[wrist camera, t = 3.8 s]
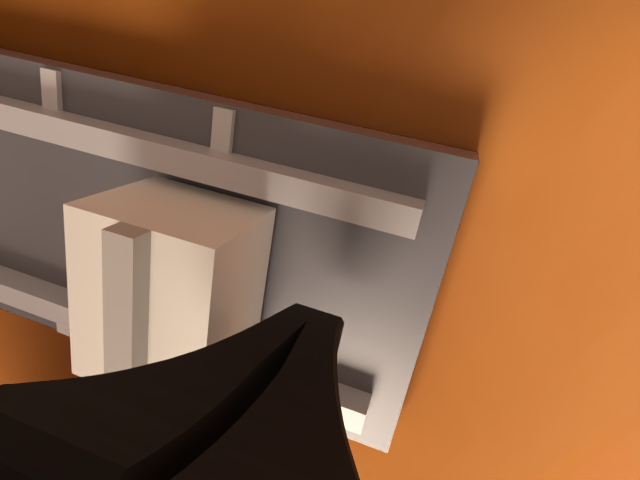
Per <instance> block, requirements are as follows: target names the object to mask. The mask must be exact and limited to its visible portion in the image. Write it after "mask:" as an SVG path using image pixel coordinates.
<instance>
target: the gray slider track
mask: <svg viewBox="0 0 640 480" xmlns="http://www.w3.org/2000/svg"><path fill="white" fill-rule="evenodd" d="M478 164H479V157H478V153H477V152H473V151H469V150H464V149H459V148H455V147H450V146H446V145H441V144H437V143H432V142H427V141H423V140H418V139H414V138H409V137H405V136H400V135H395V134H391V133H386V132H382V131H377V130H373V129H368V128H363V127H359V126H354V125H350V124H345V123H340V122H336V121H331V120H327V119H322V118H318V117H313V116H308V115H304V114H299V113H295V112H290V111H286V110H281V109H276V108H272V107H267V106H263V105H258V104H254V103H249V102H244V101H240V100H235V99H231V98H226V97H222V96H217V95H212V94H208V93H203V92H199V91H194V90H190V89H185V88H180V87H176V86H171V85H167V84H162V83H158V82H153V81H148V80H144V79H139V78H135V77H130V76H125V75H121V74H116V73H112V72H107V71H103V70H98V69H93V68H89V67H84V66H80V65H75V64H71V63H66V62H61V61H57V60H52V59H48V58H43V57H39V56H34V55H29V54H25V53H20V52H16V51H11V50H7V49H2V48H0V309H3V310H5V311H8V312H11V313H13V314H16V315H19V316H21V317H24V318H27V319H30V320H32V321H35V322H38V323H40V324H43V325H46V326H48V327H51V328H54V329H56V330H57V332H59V333H61V334H64V335H67V336H69V337H70V328H69V309H68V289H67V270H66V251H65V232H64V213H63V204H65V203H68V202H71V201H75V200H78V199H81V198H84V197H88V196H91V195H94V194H98V193H101V192H104V191H108V190H111V189H114V188H117V187H121V186H124V185H127V184H131V183H134V182H137V181H141V180H144V179H147V178H150V177H154V176H159V177H162V178H166V179H170V180H173V181H177V182H181V183H185V184H188V185H192V186H196V187H199V188H203V189H207V190H211V191H214V192H218V193H222V194H225V195H229V196H233V197H236V198H240V199H244V200H248V201H251V202H255V203H259V204H262V205H266V206H270V207H274V208H276V214H275V221H274V228H273V235H272V242H271V249H270V256H269V263H268V270H267V277H266V284H265V291H264V298H263V305H262V312H261V319H260V322H261V321H263V320H265V319H267V318H269V317H270V316H272V315H274V314H276V313H278V312H280V311H282V310H283V309H285V308H287V307H289V306H291V305H293V304H295V303H298V304H301V305H304V306H308V307H311V308H314V309H317V310H320V311H323V312H326V313H330V314H333V315H336V316H339V317H341V318H342V319H343V321H344V327H343V331H342V335H341V340H340V344H339V348H338V353H337V373H338V386H339V396H340V404H341V410H342V415H343V421H344V426H345V430H346V434H347V438H348V439H351V440H354V441H356V442H359V443H362V444H364V445H367V446H370V447H372V448H375V449H378V450H380V451H383V452H386V453H388V450H389V446H390V443H391V440H392V437H393V434H394V430H395V427H396V424H397V421H398V418H399V415H400V411H401V408H402V405H403V402H404V399H405V396H406V392H407V389H408V386H409V383H410V380H411V376H412V373H413V370H414V367H415V364H416V361H417V357H418V354H419V351H420V348H421V345H422V342H423V338H424V335H425V332H426V329H427V326H428V322H429V319H430V316H431V313H432V310H433V307H434V303H435V300H436V297H437V294H438V291H439V288H440V284H441V281H442V278H443V275H444V272H445V268H446V265H447V262H448V259H449V256H450V253H451V249H452V246H453V243H454V240H455V237H456V233H457V230H458V227H459V224H460V221H461V218H462V214H463V211H464V208H465V205H466V202H467V199H468V195H469V192H470V189H471V186H472V183H473V179H474V176H475V173H476V170H477V167H478Z"/></svg>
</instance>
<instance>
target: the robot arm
mask: <svg viewBox="0 0 640 480" xmlns="http://www.w3.org/2000/svg"><path fill="white" fill-rule="evenodd" d="M343 327H344V321H343V319H342V318H341V317H339V316H336V315H333V314H330V313H326V312H323V311H320V310H317V309H314V308H311V307H308V306H304V305H301V304H298V303H295V304H293V305H291V306H289V307H287V308H285V309H283V310H282V311H280V312H278V313H276V314H274V315H272V316H270V317H269V318H267V319H265V320H263V321H261V322H259V323H257V324H255V325H253V326H251V327H249V328H247V329H245V330H243V331H241V332H239V333H237V334H234V335H232V336H230V337H227V338H225V339H223V340H221V341H218V342H216V343H214V344H211V345H209V346H206V347H203V348H201V349H198V350H195V351H192V352H189V353H186V354H183V355H180V356H177V357H173V358H170V359H167V360H163V361H159V362H154V363H150V364H146V365H142V366H138V367H134V368H130V369H125V370H120V371H115V372H109V373H104V374H98V375H91V376H85V377H78V378H70V379H62V380H51V381H40V382H29V383H18V384H2V385H1V386H0V480H360V479H359V475H358V472H357V469H356V466H355V463H354V459H353V456H352V453H351V450H350V446H349V443H348V438H347V434H346V430H345V426H344V421H343V415H342V410H341V404H340V396H339V386H338V373H337V353H338V348H339V344H340V340H341V335H342V331H343Z"/></svg>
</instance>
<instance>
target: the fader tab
mask: <svg viewBox="0 0 640 480" xmlns="http://www.w3.org/2000/svg"><path fill="white" fill-rule="evenodd" d="M63 213H64V232H65V251H66V270H67V289H68V309H69V328H70V347H71V366H72V374H75V375H77V376H80V377H85V376H91V375H98V374H104V373H109V372H115V371H120V370H125V369H130V368H134V367H138V366H142V365H146V364H150V363H154V362H159V361H163V360H167V359H170V358H173V357H177V356H180V355H183V354H186V353H189V352H192V351H195V350H198V349H201V348H203V347H206V346H209V345H211V344H214V343H216V342H218V341H221V340H223V339H225V338H227V337H230V336H232V335H234V334H237V333H239V332H241V331H243V330H245V329H247V328H249V327H251V326H253V325H255V324H257V323H259V322H260V319H261V312H262V305H263V298H264V291H265V284H266V277H267V270H268V263H269V256H270V249H271V242H272V235H273V228H274V221H275V214H276V208H274V207H270V206H266V205H262V204H259V203H255V202H251V201H248V200H244V199H240V198H236V197H233V196H229V195H225V194H222V193H218V192H214V191H211V190H207V189H203V188H199V187H196V186H192V185H188V184H185V183H181V182H177V181H173V180H170V179H166V178H162V177H159V176H154V177H150V178H147V179H144V180H141V181H137V182H134V183H131V184H127V185H124V186H121V187H117V188H114V189H111V190H108V191H104V192H101V193H98V194H94V195H91V196H88V197H84V198H81V199H78V200H75V201H71V202H68V203H65V204H63Z"/></svg>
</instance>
